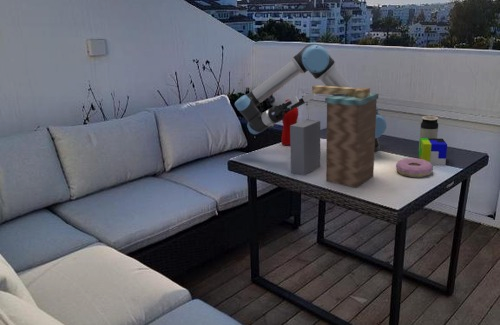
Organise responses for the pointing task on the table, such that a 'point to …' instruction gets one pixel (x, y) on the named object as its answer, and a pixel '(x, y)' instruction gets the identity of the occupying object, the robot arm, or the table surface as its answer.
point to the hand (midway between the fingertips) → (306, 96)
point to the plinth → (305, 146)
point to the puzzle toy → (433, 150)
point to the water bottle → (288, 125)
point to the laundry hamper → (350, 138)
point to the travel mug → (429, 127)
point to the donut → (414, 167)
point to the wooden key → (341, 91)
